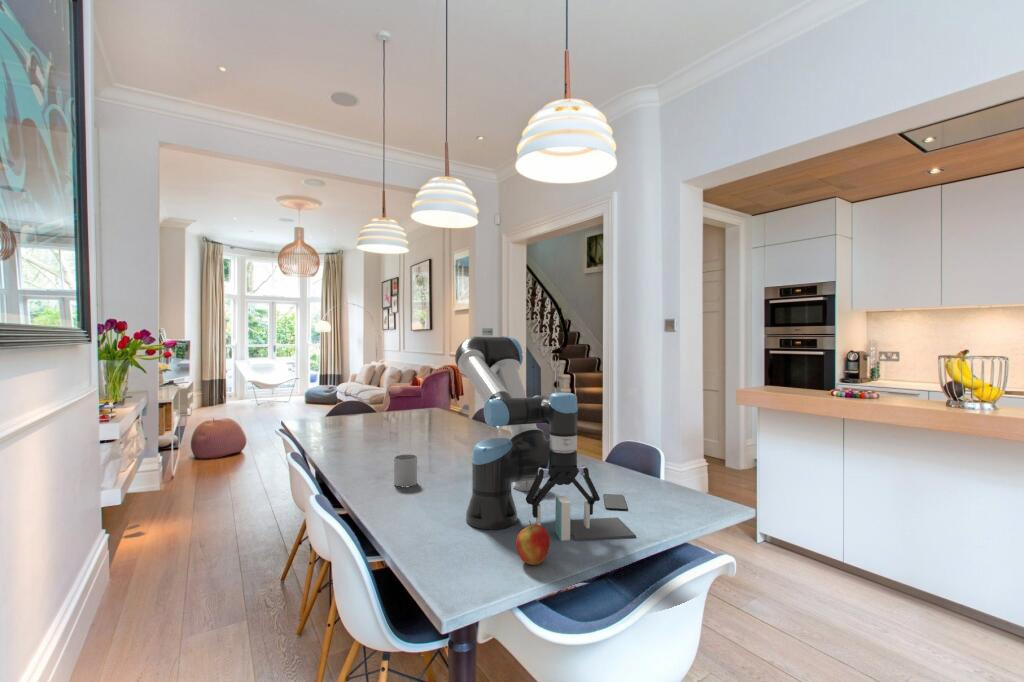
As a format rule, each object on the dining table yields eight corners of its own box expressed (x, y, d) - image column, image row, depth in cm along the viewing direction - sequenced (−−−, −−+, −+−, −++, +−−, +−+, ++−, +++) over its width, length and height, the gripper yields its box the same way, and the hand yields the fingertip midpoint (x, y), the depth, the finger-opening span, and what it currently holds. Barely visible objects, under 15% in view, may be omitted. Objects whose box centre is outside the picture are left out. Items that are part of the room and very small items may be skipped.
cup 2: (505, 486, 172) (505, 453, 172) (523, 481, 178) (523, 449, 178) (524, 493, 164) (525, 458, 164) (543, 487, 170) (543, 454, 170)
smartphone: (623, 494, 162) (627, 509, 147) (623, 497, 162) (627, 511, 147) (603, 493, 163) (605, 507, 148) (603, 496, 163) (605, 510, 148)
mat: (575, 540, 125) (575, 538, 125) (562, 522, 138) (562, 520, 138) (635, 537, 128) (635, 535, 128) (617, 519, 140) (618, 517, 140)
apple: (543, 573, 107) (544, 529, 107) (510, 566, 110) (511, 524, 110) (553, 558, 115) (554, 517, 115) (522, 552, 118) (523, 512, 118)
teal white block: (560, 540, 125) (560, 503, 125) (555, 532, 131) (555, 496, 131) (570, 539, 126) (570, 502, 126) (564, 531, 131) (565, 495, 131)
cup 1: (411, 488, 169) (412, 460, 169) (390, 486, 170) (390, 459, 170) (420, 481, 177) (420, 454, 177) (399, 480, 179) (399, 453, 179)
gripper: (520, 454, 123) (519, 535, 123) (611, 451, 126) (611, 530, 126) (515, 448, 130) (515, 524, 130) (602, 445, 134) (601, 520, 134)
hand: (562, 527), depth 128 cm, fingers open, 13 cm apart
